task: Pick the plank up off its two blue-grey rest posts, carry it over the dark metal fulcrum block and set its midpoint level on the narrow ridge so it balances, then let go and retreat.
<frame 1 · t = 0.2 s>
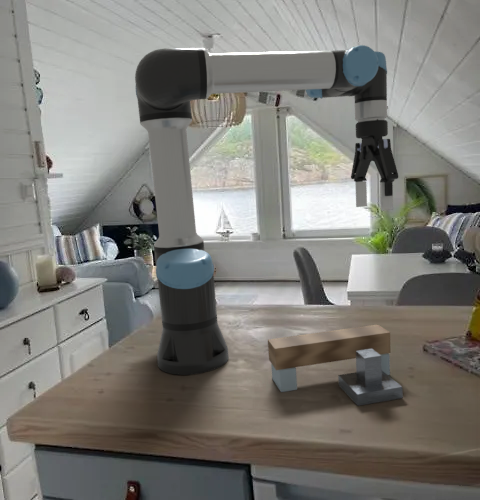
hand: (373, 208, 122), 28 cm above the worktop, fingers open, 13 cm apart
fulcrum: (369, 391, 85), on the worktop
plank: (329, 356, 91), point 4 cm above the worktop, touching rest posts
rest posts: (330, 376, 92), on the worktop
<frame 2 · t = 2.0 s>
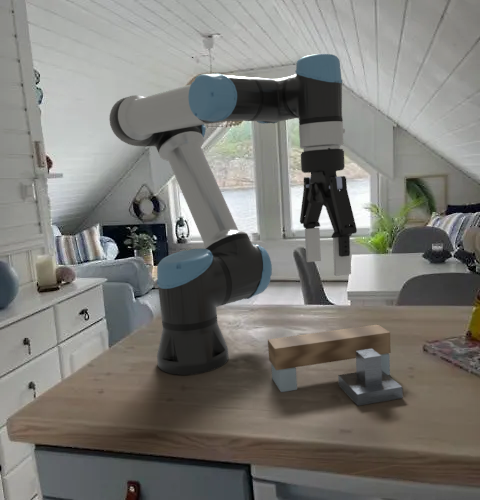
hand: (327, 267, 89), 21 cm above the worktop, fingers open, 13 cm apart
nothing on the worktop moved.
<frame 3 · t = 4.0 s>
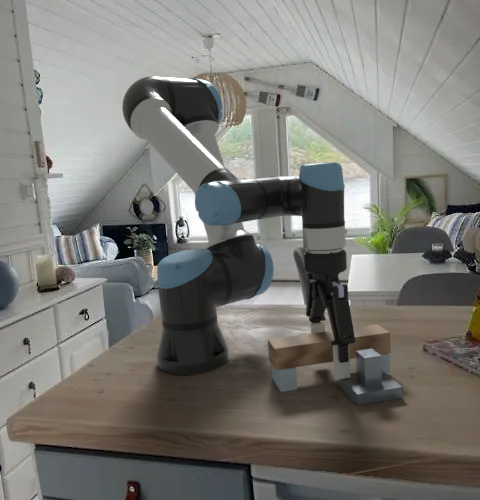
hand: (330, 365, 91), 2 cm above the worktop, fingers open, 11 cm apart
nothing on the worktop moved.
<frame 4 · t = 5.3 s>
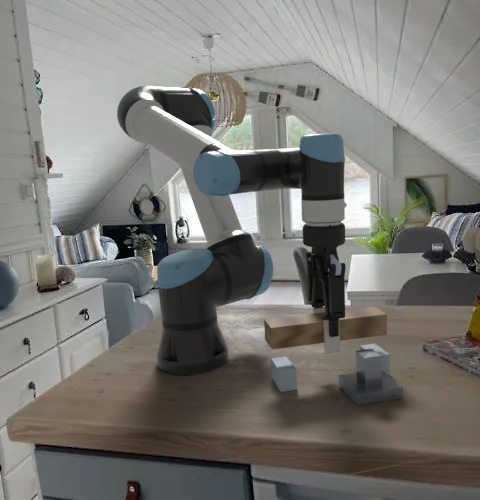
hand: (326, 345, 91), 6 cm above the worktop, fingers closed on plank, 5 cm apart
plank: (325, 337, 91), point 8 cm above the worktop, touching gripper
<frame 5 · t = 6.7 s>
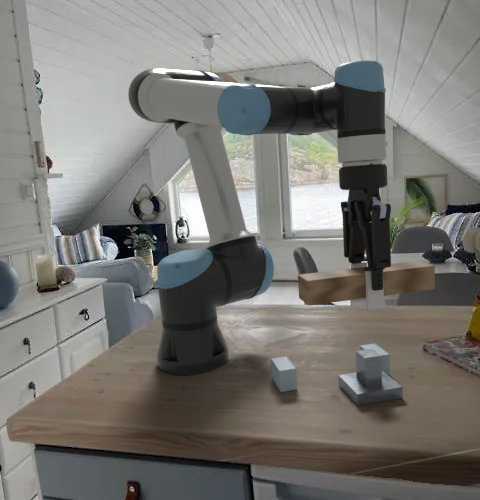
hand: (367, 304, 82), 16 cm above the worktop, fingers closed on plank, 5 cm apart
plank: (366, 293, 82), point 18 cm above the worktop, touching gripper
when the fingers open (5 cm above the worktop, at t = 8.3 s): plank stays where it is, resting on fulcrum.
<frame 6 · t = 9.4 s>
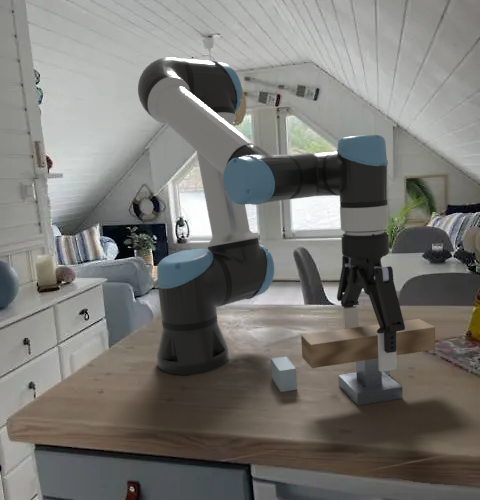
hand: (368, 354, 84), 7 cm above the worktop, fingers open, 13 cm apart
plank: (368, 353, 84), point 7 cm above the worktop, touching fulcrum
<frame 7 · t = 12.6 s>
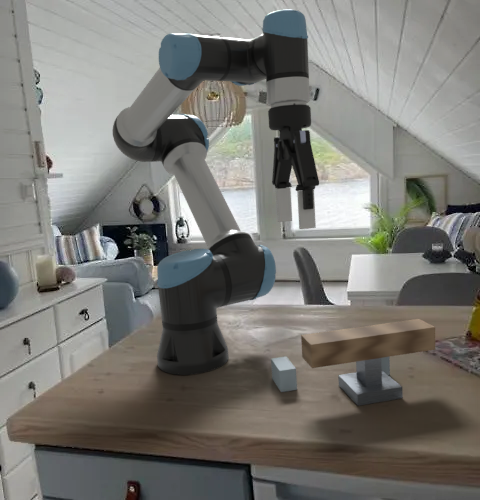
hand: (295, 224, 90), 29 cm above the worktop, fingers open, 13 cm apart
nothing on the worktop moved.
at the end: plank 0.1 cm off-centre on the fulcrum, point 7.0 cm above the fulcrum's base; plank tilted 0°; plank touching fulcrum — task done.
